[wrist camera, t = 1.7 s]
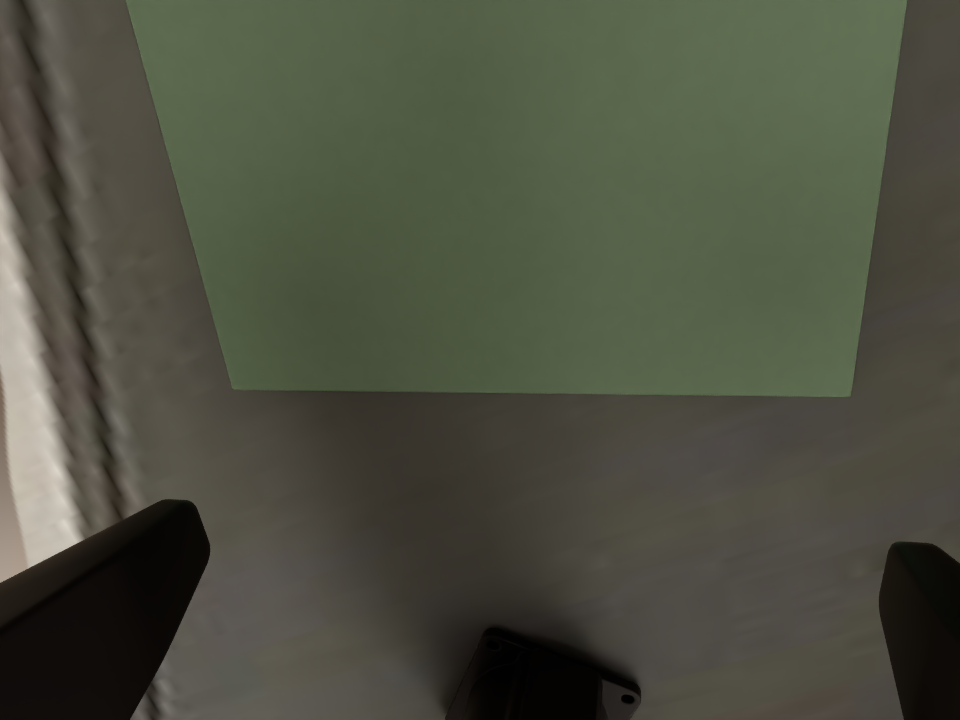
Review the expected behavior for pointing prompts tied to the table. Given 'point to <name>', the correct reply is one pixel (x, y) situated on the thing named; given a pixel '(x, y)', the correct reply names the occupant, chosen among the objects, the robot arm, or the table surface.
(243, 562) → the table surface
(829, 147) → the green mat
